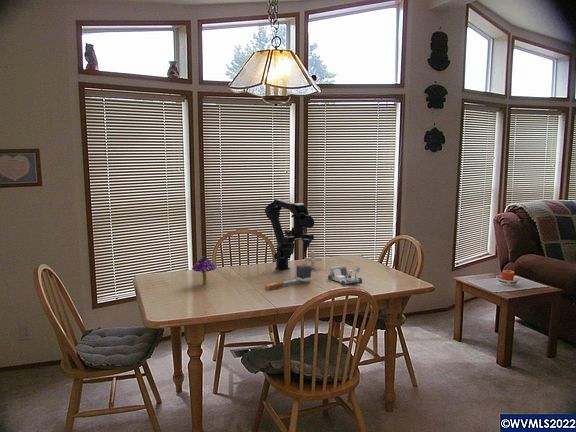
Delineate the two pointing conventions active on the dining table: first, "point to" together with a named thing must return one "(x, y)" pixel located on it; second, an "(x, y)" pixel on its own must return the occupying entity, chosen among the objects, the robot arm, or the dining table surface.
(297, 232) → the robot arm
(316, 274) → the dining table surface
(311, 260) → the pipe connector
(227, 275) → the dining table surface
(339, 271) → the toy car
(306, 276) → the dark grey block
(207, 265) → the purple mushroom
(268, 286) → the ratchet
